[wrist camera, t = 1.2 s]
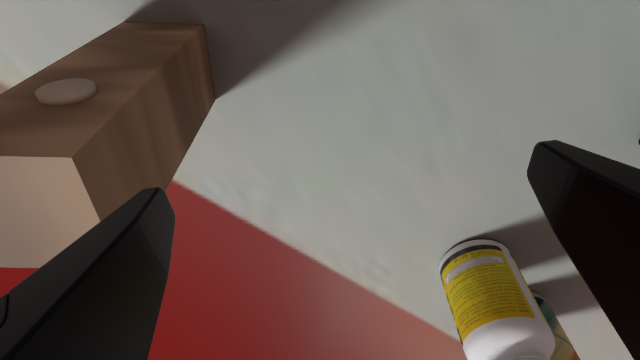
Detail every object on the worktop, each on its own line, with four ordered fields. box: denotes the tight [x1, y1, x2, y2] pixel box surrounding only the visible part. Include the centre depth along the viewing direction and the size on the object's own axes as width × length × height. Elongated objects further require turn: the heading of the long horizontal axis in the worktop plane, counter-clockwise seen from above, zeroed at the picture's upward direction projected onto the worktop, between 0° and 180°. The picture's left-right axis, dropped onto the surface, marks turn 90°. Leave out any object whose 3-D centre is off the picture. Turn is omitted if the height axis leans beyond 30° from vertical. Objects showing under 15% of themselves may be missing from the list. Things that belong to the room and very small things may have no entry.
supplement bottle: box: [439, 239, 555, 360], centre depth 25 cm, size 5×5×10 cm
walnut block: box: [0, 23, 215, 268], centre depth 15 cm, size 4×4×12 cm
